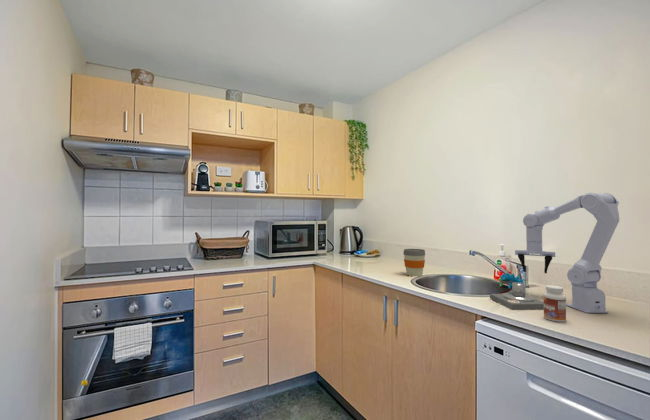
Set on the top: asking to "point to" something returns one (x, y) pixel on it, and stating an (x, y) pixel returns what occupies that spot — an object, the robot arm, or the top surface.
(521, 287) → the steel spacer
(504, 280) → the teal lumpy piece
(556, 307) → the pill bottle
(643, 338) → the top surface
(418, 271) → the reusable coffee cup
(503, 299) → the scale
